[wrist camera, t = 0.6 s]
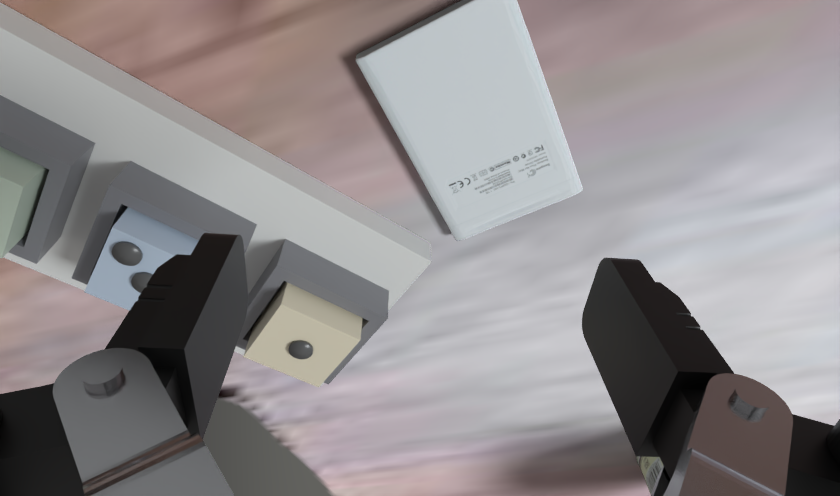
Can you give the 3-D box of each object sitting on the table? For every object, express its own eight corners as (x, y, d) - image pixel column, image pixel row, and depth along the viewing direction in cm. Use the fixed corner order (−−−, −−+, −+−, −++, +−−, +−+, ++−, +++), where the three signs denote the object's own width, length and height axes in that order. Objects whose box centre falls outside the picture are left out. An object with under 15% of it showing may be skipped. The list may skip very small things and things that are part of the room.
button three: (133, 200, 28) (110, 229, 26) (224, 244, 30) (209, 274, 28) (105, 262, 31) (82, 294, 28) (191, 299, 32) (175, 332, 30)
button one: (289, 275, 31) (280, 306, 29) (363, 310, 33) (360, 342, 31) (253, 326, 34) (242, 359, 32) (323, 356, 35) (318, 390, 33)
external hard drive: (505, -26, 26) (578, 179, 33) (356, 51, 28) (453, 229, 35) (510, -20, 25) (585, 192, 31) (353, 61, 27) (455, 244, 33)
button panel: (-45, -23, 25) (-121, -1, 21) (430, 242, 34) (433, 288, 31) (-82, 193, 32) (-145, 238, 28) (324, 365, 41) (315, 415, 38)
